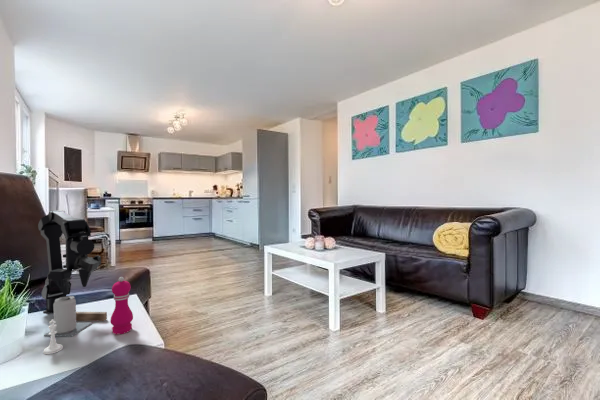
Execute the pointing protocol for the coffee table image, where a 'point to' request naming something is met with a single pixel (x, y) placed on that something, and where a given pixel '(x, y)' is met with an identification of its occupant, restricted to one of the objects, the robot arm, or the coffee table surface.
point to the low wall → (91, 316)
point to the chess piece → (52, 340)
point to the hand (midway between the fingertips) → (75, 290)
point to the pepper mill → (121, 308)
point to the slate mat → (78, 328)
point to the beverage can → (65, 314)
